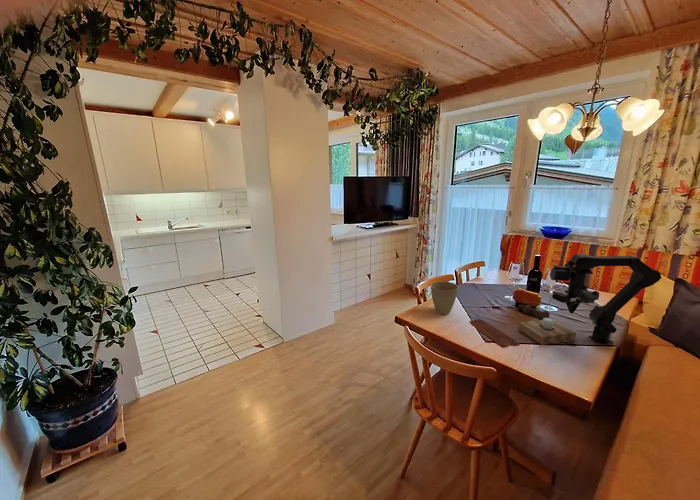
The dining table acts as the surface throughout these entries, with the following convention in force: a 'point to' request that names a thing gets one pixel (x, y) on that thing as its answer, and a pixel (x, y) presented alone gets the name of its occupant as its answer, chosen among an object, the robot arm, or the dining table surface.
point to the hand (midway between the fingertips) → (571, 313)
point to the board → (547, 332)
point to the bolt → (534, 311)
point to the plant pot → (443, 296)
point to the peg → (547, 324)
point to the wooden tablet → (494, 333)
